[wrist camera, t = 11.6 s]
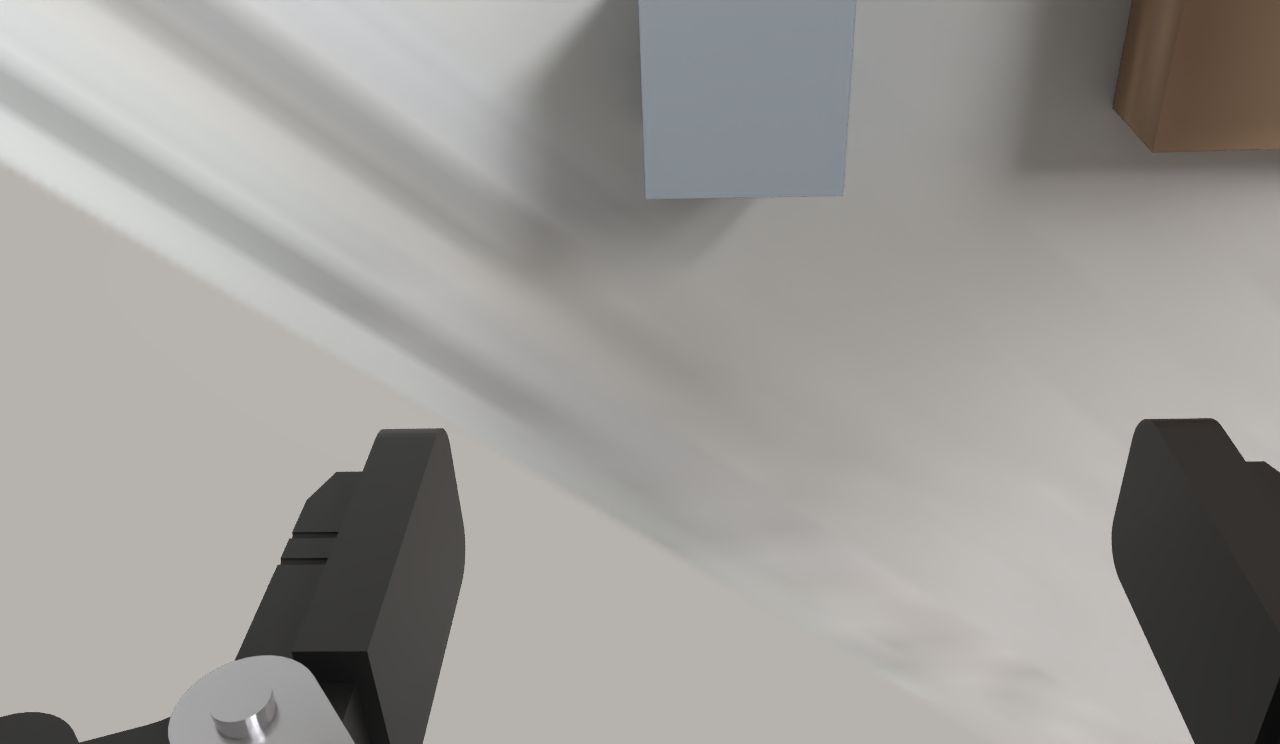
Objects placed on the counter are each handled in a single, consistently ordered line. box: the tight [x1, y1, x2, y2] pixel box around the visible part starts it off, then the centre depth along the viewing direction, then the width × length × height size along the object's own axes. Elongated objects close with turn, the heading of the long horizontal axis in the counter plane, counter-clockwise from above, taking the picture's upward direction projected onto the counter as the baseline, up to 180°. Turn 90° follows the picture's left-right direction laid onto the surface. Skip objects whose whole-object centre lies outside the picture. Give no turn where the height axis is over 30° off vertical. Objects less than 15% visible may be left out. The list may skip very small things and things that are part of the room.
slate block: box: [638, 0, 856, 199], centre depth 26 cm, size 4×4×4 cm
